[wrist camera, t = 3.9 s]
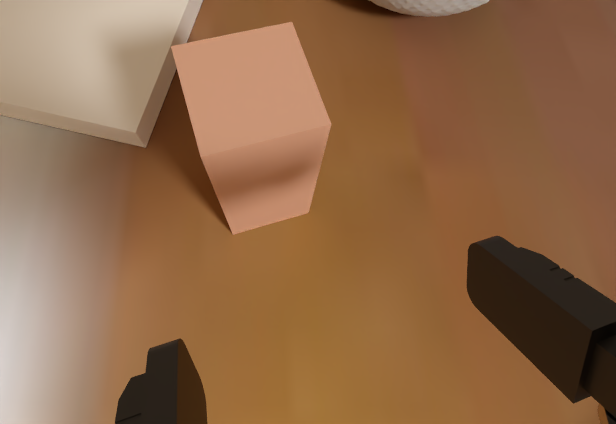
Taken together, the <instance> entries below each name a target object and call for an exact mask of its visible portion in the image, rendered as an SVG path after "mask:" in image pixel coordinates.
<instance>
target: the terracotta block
mask: <svg viewBox="0 0 616 424" xmlns="http://www.w3.org/2000/svg"><path fill="white" fill-rule="evenodd" d="M171 49H172V52H173V56H174V60H175V64H176V67H177V71H178V75H179V78H180V82H181V86H182V90H183V93H184V97H185V101H186V104H187V108H188V112H189V116H190V119H191V123H192V127H193V130H194V134H195V138H196V142H197V145H198V149H199V153H200V157H201V159H202V162H203V164H204V166H205V169H206V171H207V174H208V176H209V178H210V181H211V183H212V186H213V188H214V190H215V193H216V195H217V198H218V200H219V202H220V205H221V207H222V210H223V212H224V214H225V217H226V219H227V222H228V224H229V226H230V229H231V231H232V234H237V233H240V232H244V231H247V230H251V229H254V228H258V227H261V226H265V225H268V224H271V223H275V222H278V221H282V220H285V219H289V218H292V217H296V216H299V215H303V214H306V213H309V209H310V205H311V201H312V197H313V193H314V189H315V186H316V182H317V178H318V174H319V170H320V166H321V162H322V158H323V154H324V151H325V147H326V143H327V139H328V135H329V131H330V127H331V122H330V120H329V117H328V115H327V112H326V109H325V107H324V104H323V101H322V99H321V96H320V94H319V91H318V88H317V86H316V83H315V81H314V78H313V75H312V73H311V70H310V68H309V65H308V62H307V60H306V57H305V54H304V52H303V49H302V47H301V44H300V41H299V39H298V36H297V34H296V31H295V28H294V26H293V23H292V22H289V23H284V24H279V25H274V26H269V27H264V28H259V29H254V30H249V31H244V32H239V33H234V34H229V35H224V36H219V37H214V38H209V39H204V40H199V41H194V42H189V43H184V44H179V45H174V46H171Z"/></svg>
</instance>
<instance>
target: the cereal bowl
mask: <svg viewBox="0 0 616 424" xmlns="http://www.w3.org/2000/svg"><path fill="white" fill-rule="evenodd" d="M369 1H372V2H373V3H375V4H376V5H378V6H382V7H384V8H386V9H389V10H392V11H394V12H399V13H401V14H408V15H413V16H425V17H430V16H447V15H450V14H456V13H460V12H463V11H468V10H470V9H472V8H475V7H478V6H480V5H482V4H485V3H487V2H488V1H490V0H369Z"/></svg>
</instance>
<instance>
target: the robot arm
mask: <svg viewBox="0 0 616 424" xmlns="http://www.w3.org/2000/svg"><path fill="white" fill-rule="evenodd" d="M467 291H468V294H469V297H470V299H471V301H472V303H473V304H474V306H475V307H476V308H477V309H478V310H479V311H480V312H481V313H482V314H483V315H484V316H485V317H486V318H487V319H488V320H489V321H490V322H491V323H492V324H493V325H494V326H495V327H496V328H497V329H498V330H499V331H500V332H501V333H502V334H503V335H504V336H505V337H506V338H507V339H508V340H509V341H510V342H511V343H513V344H514V345H515V346H516V347H517V348H518V349H519V350H520V351H521V352H522V353H523V354H524V355H525V356H526V357H527V358H528V359H529V360H530V361H531V362H532V363H533V364H534V365H535V366H536V367H537V368H538V369H539V370H540V371H541V372H542V373H543V374H544V375H545V376H546V377H547V378H548V379H549V380H550V381H551V382H552V383H553V384H554V385H555V386H556V387H557V388H558V389H559V390H560V391H561V392H562V393H563V394H564V395H565V396H566V397H567V398H568V399H569V400H570V401H571V402H572V403H576V402H578V401H580V400H583V399H585V398H587V397H590V396H592V397H593V398H594V399H595V400H596V401H597V402H598V403H599V405H598V416H599V420H600V424H616V303H615V302H613V301H612V300H610V299H609V298H607V297H606V296H604V295H603V294H601V293H600V292H598V291H597V290H595V289H594V288H592V287H591V286H589V285H588V284H586V283H584V282H583V281H581V280H580V279H578V278H574V275H572V274H571V273H569V272H568V271H566V270H565V269H563V268H562V269H560V267H559V265H557V264H556V263H554V262H553V261H551V260H549V259H548V258H546V257H545V256H543V255H542V254H539V253H536V252H533V251H530V250H528V249H525V248H522V247H520V248H517V247H515V246H514V245H512V244H511V243H510V242H508V241H507V240H505V239H504V238H502V237H500V236H494V237H491V238H488V239H484V240H481V241H478V242H475V243H472V244H471V245H470V246H469V249H468V266H467ZM115 424H207V411H206V399H205V393H204V389H203V385H202V382H201V379H200V377H199V374H198V372H197V370H196V368H195V366H194V363H193V361H192V359H191V357H190V355H189V352H188V350H187V348H186V346H185V344H184V342H183V340H182V339H177V340H174V341H171V342H168V343H165V344H162V345H159V346H155V347H152V348H150V349H149V351H148V355H147V365H146V373H144V374H141V375H138V376H135V377H132V378H131V379H130V381H129V382H128V384H127V386H126V388H125V390H124V391H123V393H122V395H121V397H120V398H119V401H118V407H117V413H116V419H115Z"/></svg>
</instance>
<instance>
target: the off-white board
mask: <svg viewBox="0 0 616 424" xmlns="http://www.w3.org/2000/svg"><path fill="white" fill-rule="evenodd" d="M202 2H203V0H0V115H3V116H7V117H12V118H16V119H21V120H25V121H29V122H34V123H38V124H43V125H47V126H52V127H56V128H60V129H65V130H69V131H74V132H78V133H83V134H87V135H91V136H96V137H100V138H105V139H109V140H114V141H118V142H122V143H127V144H131V145H136V146H140V147H144V148H146V146H147V144H148V141H149V138H150V136H151V133H152V131H153V128H154V126H155V123H156V120H157V118H158V115H159V113H160V110H161V108H162V105H163V102H164V100H165V97H166V95H167V92H168V89H169V87H170V84H171V82H172V79H173V77H174V74H175V71H176V69H177V67H176V64H175V60H174V56H173V52H172V49H171V46H174V45H179V44H184V43H187V40H188V38H189V35H190V33H191V30H192V27H193V25H194V22H195V20H196V17H197V15H198V12H199V9H200V7H201V4H202Z"/></svg>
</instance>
